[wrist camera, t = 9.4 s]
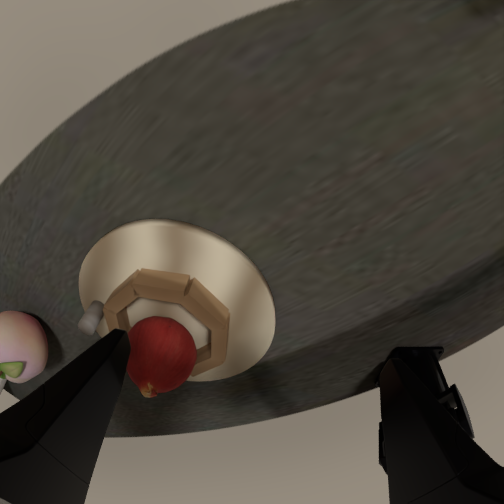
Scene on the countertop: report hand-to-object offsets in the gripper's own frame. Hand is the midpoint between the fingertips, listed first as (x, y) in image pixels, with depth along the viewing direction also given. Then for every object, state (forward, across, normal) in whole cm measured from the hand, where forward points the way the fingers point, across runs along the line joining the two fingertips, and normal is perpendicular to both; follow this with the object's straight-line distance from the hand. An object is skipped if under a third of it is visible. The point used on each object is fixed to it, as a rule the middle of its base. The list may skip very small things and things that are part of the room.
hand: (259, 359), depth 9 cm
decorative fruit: (+13, +26, +17) cm, 34 cm away
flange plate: (+13, +7, +11) cm, 18 cm away
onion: (+12, +7, +11) cm, 18 cm away
